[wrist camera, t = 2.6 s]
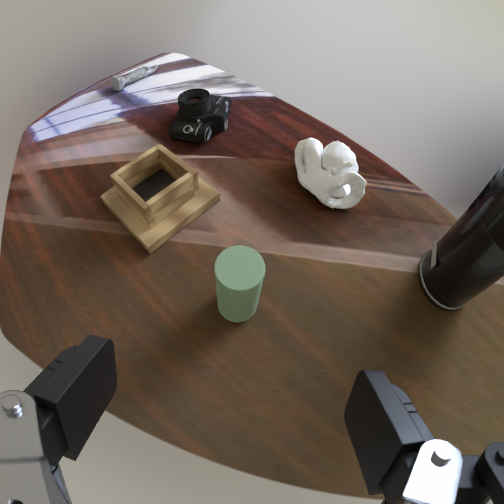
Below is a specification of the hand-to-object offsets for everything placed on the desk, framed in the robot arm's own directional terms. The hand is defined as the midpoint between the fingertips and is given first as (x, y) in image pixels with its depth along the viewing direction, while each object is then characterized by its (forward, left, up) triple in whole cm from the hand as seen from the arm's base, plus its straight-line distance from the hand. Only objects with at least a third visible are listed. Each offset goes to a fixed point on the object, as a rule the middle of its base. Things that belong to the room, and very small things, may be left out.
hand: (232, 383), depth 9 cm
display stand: (-12, -25, -23) cm, 36 cm away
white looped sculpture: (-31, -11, -23) cm, 40 cm away
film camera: (-28, -34, -23) cm, 50 cm away
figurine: (-30, -60, -23) cm, 70 cm away
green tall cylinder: (-9, -7, -23) cm, 26 cm away
